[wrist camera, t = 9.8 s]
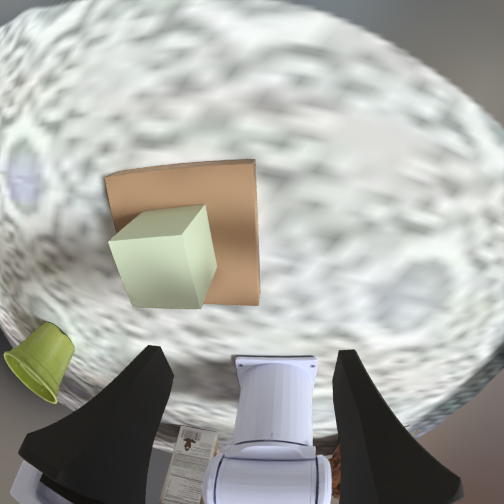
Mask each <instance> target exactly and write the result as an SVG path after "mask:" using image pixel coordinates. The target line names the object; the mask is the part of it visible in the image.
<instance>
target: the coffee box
mask: <svg viewBox="0 0 504 504" xmlns="http://www.w3.org/2000/svg"><path fill="white" fill-rule="evenodd" d="M218 452H219V444H218V436H217V432H214V431H208V430H202V429H197V428H192V427H187V426H182V425H181V427H180V431H179V434H178V438H177V441H176V445H175V448H174V451H173V455H172V458H171V462H170V465H169V469H168V472H167V475H166V479H165V482H164V486H163V489H162V493H161V497H160V500H159V504H204V501H203V493H202V490H203V480H204V475H205V471H206V468H207V466H208V464H209V462H210V461H211V459H213V458H214V457H215V456H216V455H217V454H218Z"/></svg>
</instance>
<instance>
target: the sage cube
mask: <svg viewBox="0 0 504 504" xmlns="http://www.w3.org/2000/svg"><path fill="white" fill-rule="evenodd" d="M108 243H109V246H110V249H111V252H112V255H113V257H114V260H115V263H116V266H117V268H118V271H119V274H120V276H121V279H122V281H123V284H124V286H125V289H126V291H127V294H128V296H129V298H130V301H131V303H132V305H133V307H140V308H168V309H201V307H202V305H203V302H204V299H205V297H206V294H207V292H208V289H209V286H210V284H211V281H212V279H213V276H214V274H215V271H216V269H217V263H216V258H215V253H214V248H213V243H212V238H211V233H210V227H209V222H208V216H207V211H206V205H205V204H203V205H193V206H184V207H175V208H167V209H159V210H151V211H144V212H142V213H141V214H139V215H138V216H137V217H136V218H135V219H133V220H132V221H131V222H130V223H129V224H127V225H126V226H125V227H124V228H123V229H122V230H120V231H119V232H118V233H117V234H116V235H115V236H114V237H112V238H111V239H110V240H109V241H108Z"/></svg>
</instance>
